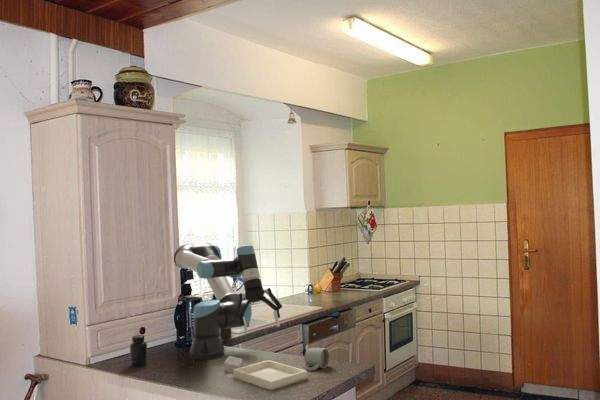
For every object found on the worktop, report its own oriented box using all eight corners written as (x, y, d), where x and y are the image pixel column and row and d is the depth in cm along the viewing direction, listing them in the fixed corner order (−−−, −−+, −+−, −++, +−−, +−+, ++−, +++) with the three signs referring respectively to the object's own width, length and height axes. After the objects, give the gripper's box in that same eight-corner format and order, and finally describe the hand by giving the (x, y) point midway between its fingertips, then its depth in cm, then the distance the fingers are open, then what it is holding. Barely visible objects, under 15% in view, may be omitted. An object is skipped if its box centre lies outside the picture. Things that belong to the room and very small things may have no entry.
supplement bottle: (139, 361, 237) (138, 333, 238) (150, 364, 234) (150, 335, 234) (126, 366, 232) (126, 336, 232) (138, 368, 228) (138, 338, 228)
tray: (233, 377, 213) (233, 369, 213) (268, 367, 226) (268, 360, 226) (271, 390, 197) (271, 381, 197) (307, 378, 210) (307, 370, 210)
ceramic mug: (312, 363, 231) (311, 344, 231) (330, 365, 227) (329, 346, 227) (299, 370, 222) (299, 350, 222) (318, 372, 218) (317, 353, 218)
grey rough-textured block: (235, 380, 221) (237, 368, 219) (219, 376, 222) (222, 364, 220) (241, 366, 230) (244, 354, 228) (227, 362, 231) (229, 350, 229)
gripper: (224, 283, 231) (234, 333, 224) (281, 273, 239) (293, 321, 232) (222, 288, 238) (231, 337, 230) (277, 278, 246) (289, 325, 238)
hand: (262, 329), depth 231 cm, fingers open, 13 cm apart
